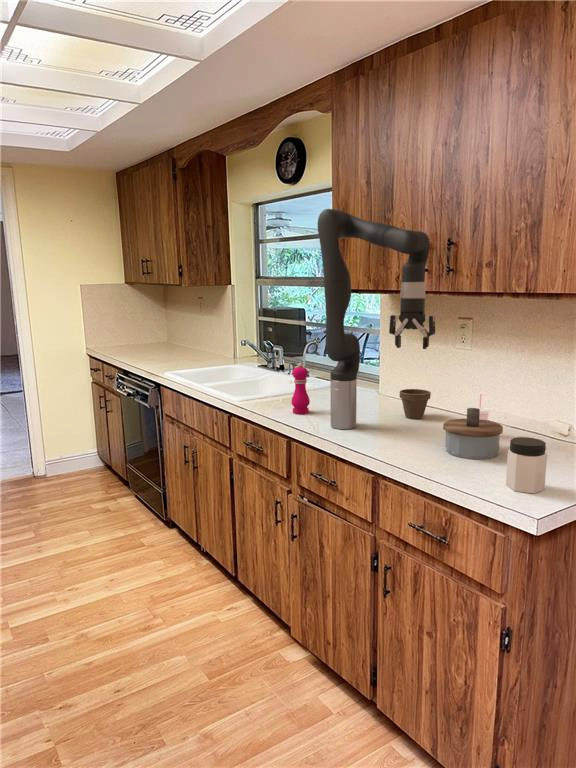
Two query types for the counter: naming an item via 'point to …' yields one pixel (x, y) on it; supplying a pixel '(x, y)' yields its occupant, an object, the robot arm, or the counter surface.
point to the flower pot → (414, 402)
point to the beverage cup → (483, 411)
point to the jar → (526, 465)
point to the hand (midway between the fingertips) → (411, 348)
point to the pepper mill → (300, 391)
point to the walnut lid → (473, 425)
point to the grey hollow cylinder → (472, 446)
